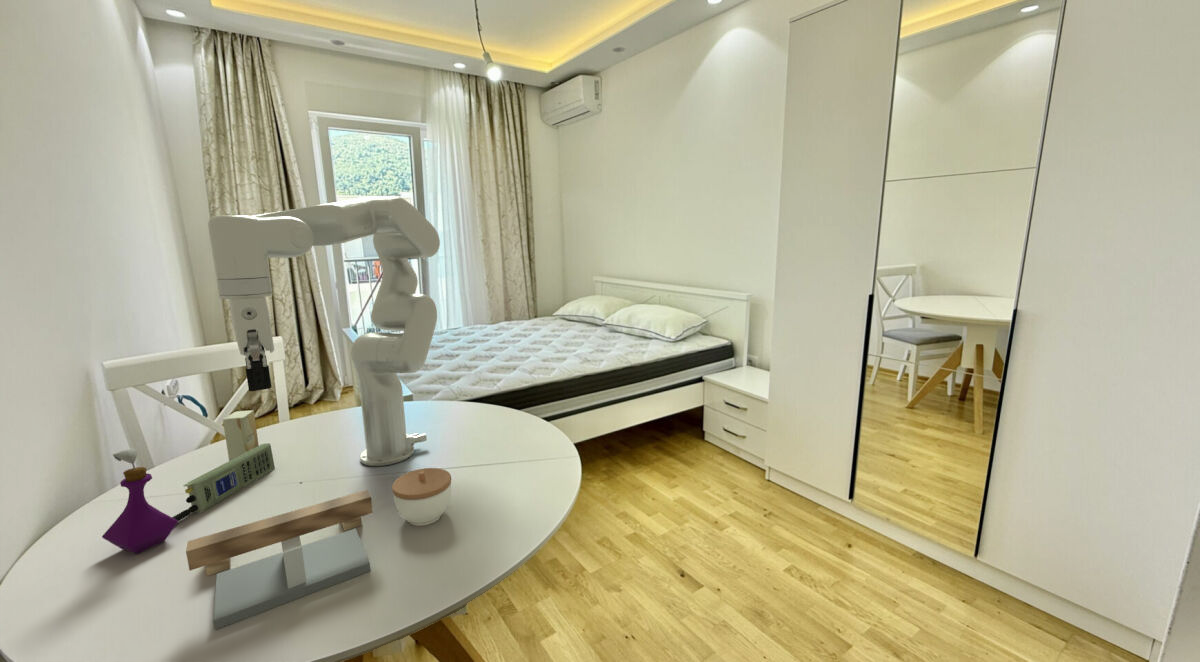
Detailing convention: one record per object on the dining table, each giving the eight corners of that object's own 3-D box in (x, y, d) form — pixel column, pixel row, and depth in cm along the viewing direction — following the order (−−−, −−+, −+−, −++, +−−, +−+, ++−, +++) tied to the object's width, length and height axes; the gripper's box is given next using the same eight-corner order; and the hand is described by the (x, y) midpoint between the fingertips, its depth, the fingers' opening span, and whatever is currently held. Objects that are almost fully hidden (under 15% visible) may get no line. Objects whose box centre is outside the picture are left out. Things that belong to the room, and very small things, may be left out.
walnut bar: (369, 505, 84) (367, 489, 83) (372, 512, 81) (371, 496, 81) (191, 559, 70) (187, 541, 69) (189, 570, 67) (185, 551, 67)
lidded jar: (398, 539, 86) (393, 492, 85) (393, 510, 96) (389, 467, 94) (458, 523, 91) (455, 477, 89) (448, 497, 101) (445, 455, 99)
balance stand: (356, 535, 88) (352, 498, 86) (370, 570, 78) (366, 529, 77) (218, 582, 76) (210, 539, 74) (215, 629, 66) (206, 582, 65)
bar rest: (356, 513, 95) (354, 495, 94) (362, 525, 91) (359, 506, 90) (208, 559, 81) (205, 538, 81) (207, 575, 77) (203, 553, 77)
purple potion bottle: (181, 537, 88) (164, 445, 85) (131, 562, 81) (110, 463, 78) (155, 529, 90) (138, 440, 87) (104, 553, 83) (83, 457, 80)
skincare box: (249, 465, 116) (242, 418, 114) (229, 467, 115) (221, 419, 113) (261, 454, 122) (254, 409, 120) (242, 456, 121) (234, 410, 119)
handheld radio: (278, 469, 115) (177, 530, 90) (265, 469, 115) (161, 529, 91) (273, 443, 114) (169, 497, 89) (260, 443, 114) (154, 497, 90)
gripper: (274, 290, 78) (288, 390, 81) (269, 284, 92) (281, 370, 95) (216, 293, 74) (232, 399, 77) (219, 286, 87) (233, 376, 90)
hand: (259, 383), depth 86 cm, fingers open, 9 cm apart
